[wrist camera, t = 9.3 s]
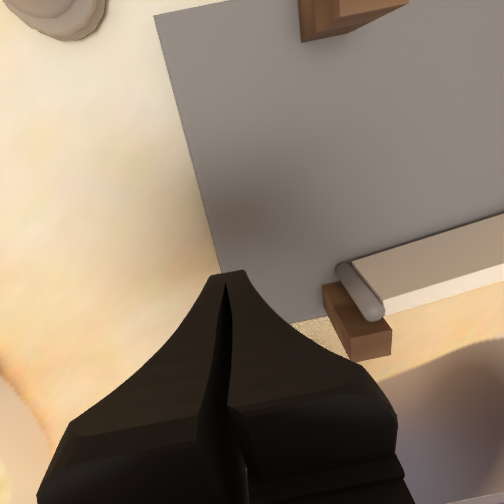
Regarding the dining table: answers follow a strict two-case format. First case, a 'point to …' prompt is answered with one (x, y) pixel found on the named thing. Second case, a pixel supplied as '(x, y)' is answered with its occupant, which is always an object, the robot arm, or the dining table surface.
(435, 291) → the gate leaf
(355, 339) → the gate posts
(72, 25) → the rook chess piece
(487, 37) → the base
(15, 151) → the dining table surface
